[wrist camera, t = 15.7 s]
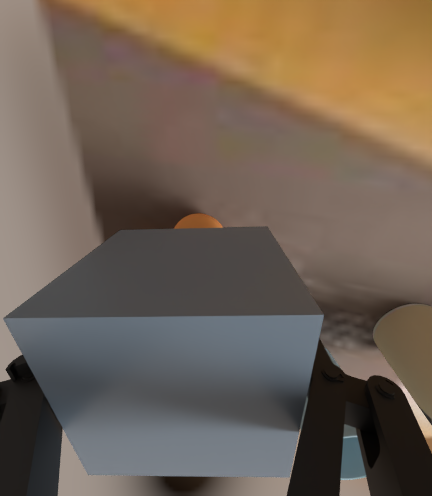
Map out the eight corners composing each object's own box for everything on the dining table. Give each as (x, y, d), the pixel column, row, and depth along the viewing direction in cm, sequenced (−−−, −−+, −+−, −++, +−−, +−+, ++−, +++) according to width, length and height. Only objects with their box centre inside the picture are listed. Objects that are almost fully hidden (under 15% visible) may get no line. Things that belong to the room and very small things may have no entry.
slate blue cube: (120, 229, 15) (2, 318, 7) (267, 226, 15) (323, 314, 7) (144, 339, 19) (88, 474, 11) (259, 338, 19) (289, 477, 11)
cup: (339, 373, 30) (393, 477, 20) (283, 380, 31) (309, 483, 21) (338, 333, 27) (401, 432, 17) (276, 342, 28) (303, 441, 18)
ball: (195, 281, 21) (198, 238, 24) (237, 269, 19) (236, 222, 21) (154, 262, 18) (163, 215, 21) (199, 244, 15) (203, 193, 18)
